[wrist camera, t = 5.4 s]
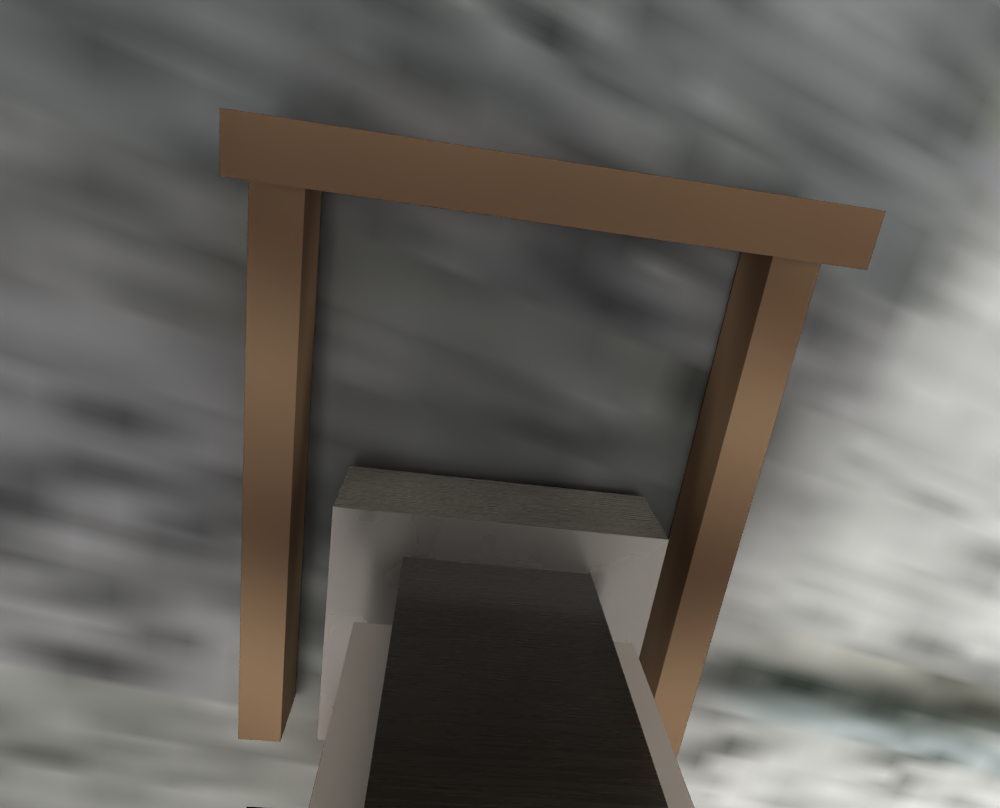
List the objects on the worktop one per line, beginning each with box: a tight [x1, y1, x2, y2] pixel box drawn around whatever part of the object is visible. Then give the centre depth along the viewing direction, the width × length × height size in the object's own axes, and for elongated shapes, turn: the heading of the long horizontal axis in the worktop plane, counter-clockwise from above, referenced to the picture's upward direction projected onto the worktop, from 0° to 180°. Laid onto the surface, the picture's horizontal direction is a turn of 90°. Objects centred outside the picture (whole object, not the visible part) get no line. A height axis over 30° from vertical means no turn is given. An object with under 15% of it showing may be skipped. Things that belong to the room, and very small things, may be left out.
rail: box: [219, 108, 886, 759], centre depth 14 cm, size 14×11×3 cm
